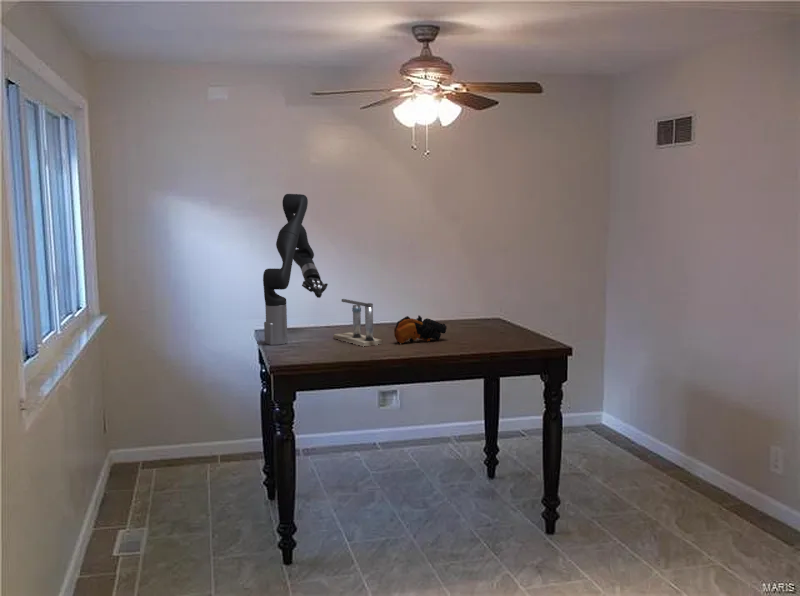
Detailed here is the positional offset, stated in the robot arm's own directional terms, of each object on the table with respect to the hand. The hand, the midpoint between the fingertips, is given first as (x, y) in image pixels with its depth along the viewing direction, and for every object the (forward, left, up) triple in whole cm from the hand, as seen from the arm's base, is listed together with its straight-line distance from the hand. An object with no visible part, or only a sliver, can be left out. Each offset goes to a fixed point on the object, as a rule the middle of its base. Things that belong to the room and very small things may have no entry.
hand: (319, 296), depth 355 cm
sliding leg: (+6, -23, -17) cm, 29 cm away
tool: (+27, -41, -19) cm, 53 cm away
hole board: (+6, -23, -19) cm, 30 cm away
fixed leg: (+6, -23, -17) cm, 29 cm away
